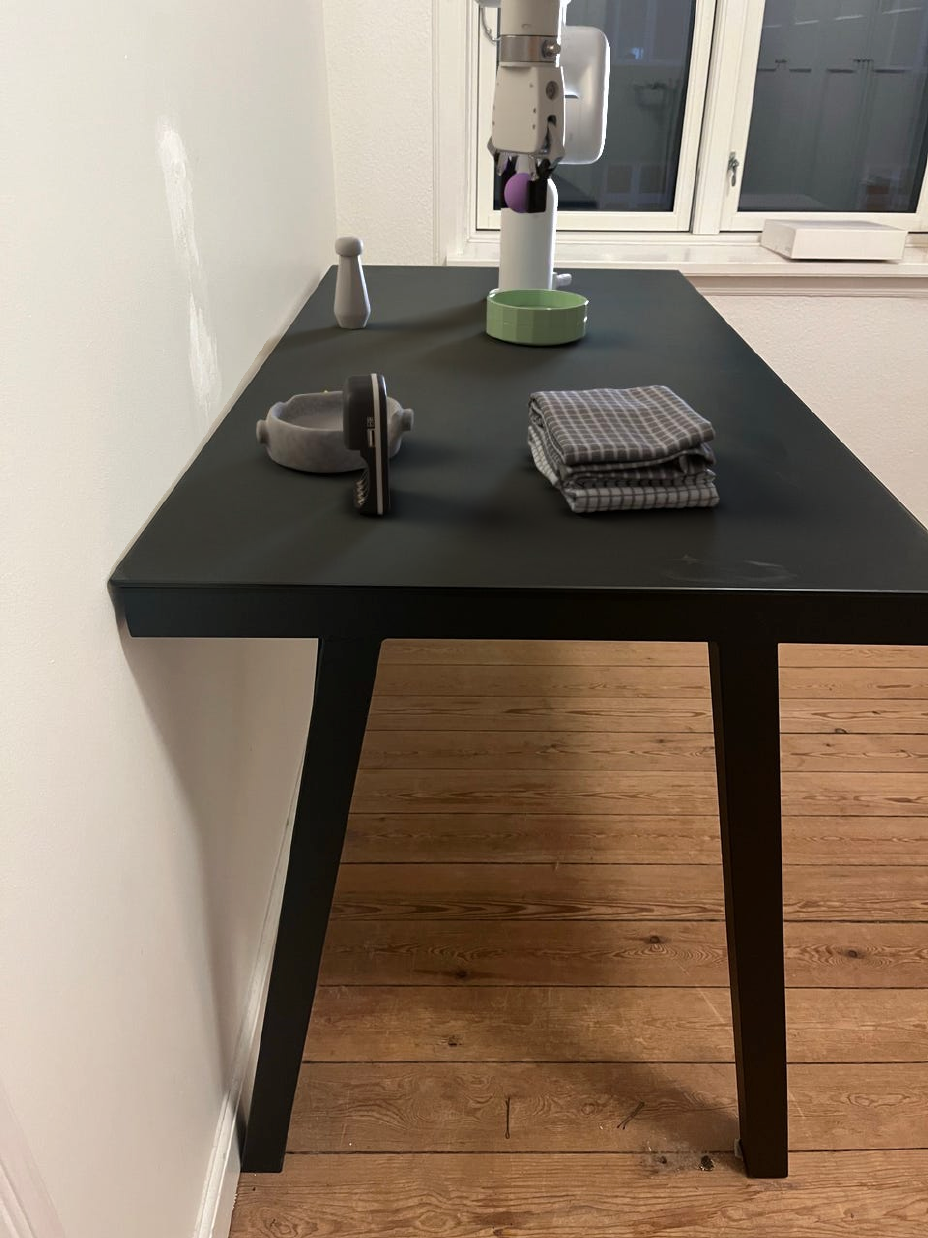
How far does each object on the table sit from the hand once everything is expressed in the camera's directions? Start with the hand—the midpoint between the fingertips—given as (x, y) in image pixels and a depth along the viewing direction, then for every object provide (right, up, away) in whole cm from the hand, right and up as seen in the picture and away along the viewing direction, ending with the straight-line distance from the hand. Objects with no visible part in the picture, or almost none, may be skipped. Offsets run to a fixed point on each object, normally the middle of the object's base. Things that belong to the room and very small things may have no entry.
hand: (522, 208), depth 125 cm
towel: (+7, -42, -34) cm, 55 cm away
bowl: (+3, -12, +16) cm, 21 cm away
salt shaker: (-26, -10, +20) cm, 34 cm away
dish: (-22, -39, -29) cm, 54 cm away
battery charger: (-17, -46, -40) cm, 63 cm away
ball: (0, +2, -1) cm, 2 cm away
